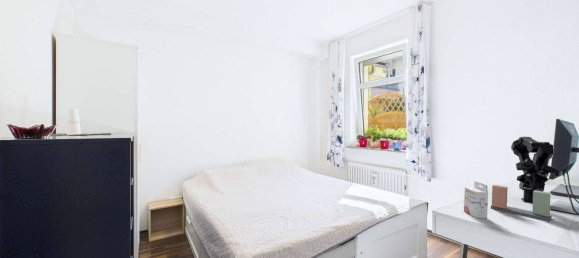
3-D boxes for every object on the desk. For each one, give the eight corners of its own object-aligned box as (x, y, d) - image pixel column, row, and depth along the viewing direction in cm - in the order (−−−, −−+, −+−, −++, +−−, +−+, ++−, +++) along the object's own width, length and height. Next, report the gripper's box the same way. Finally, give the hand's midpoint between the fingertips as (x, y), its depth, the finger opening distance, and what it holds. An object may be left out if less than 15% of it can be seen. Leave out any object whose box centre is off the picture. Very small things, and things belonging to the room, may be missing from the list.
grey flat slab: (494, 205, 125) (494, 203, 125) (551, 218, 109) (551, 215, 109) (490, 208, 121) (490, 205, 121) (549, 221, 105) (549, 218, 105)
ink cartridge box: (463, 211, 116) (464, 180, 115) (473, 211, 116) (474, 180, 115) (476, 218, 107) (477, 185, 107) (488, 218, 107) (489, 185, 107)
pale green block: (534, 211, 113) (535, 189, 113) (550, 214, 109) (550, 192, 109) (532, 213, 110) (533, 191, 110) (548, 216, 106) (549, 193, 106)
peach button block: (494, 204, 123) (494, 184, 123) (507, 206, 119) (508, 186, 118) (491, 205, 120) (492, 185, 120) (504, 208, 116) (505, 187, 116)
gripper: (508, 162, 133) (501, 186, 127) (535, 148, 116) (528, 176, 111) (532, 172, 129) (526, 198, 124) (563, 160, 112) (557, 188, 107)
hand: (533, 190), depth 116 cm, fingers closed
